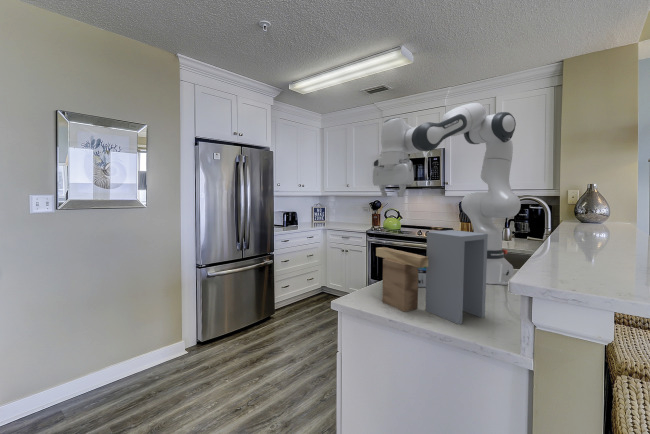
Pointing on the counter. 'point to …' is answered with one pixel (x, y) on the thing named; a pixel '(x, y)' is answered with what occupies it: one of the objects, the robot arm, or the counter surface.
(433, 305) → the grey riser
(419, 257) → the oak slat
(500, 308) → the counter surface
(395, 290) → the walnut block
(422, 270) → the light bulb box
